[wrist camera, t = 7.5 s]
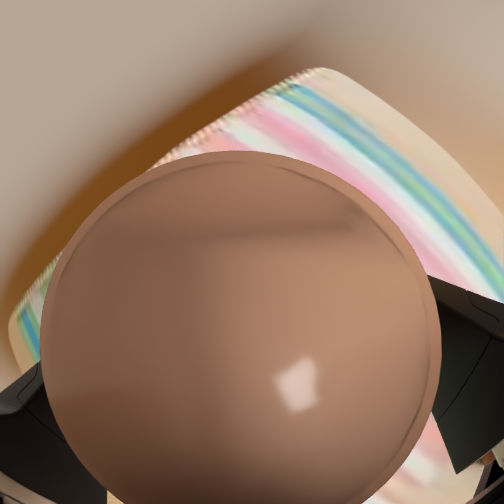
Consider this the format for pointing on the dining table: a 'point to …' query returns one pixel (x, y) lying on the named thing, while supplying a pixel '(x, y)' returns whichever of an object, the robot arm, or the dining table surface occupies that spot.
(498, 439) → the robot arm
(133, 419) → the tan cylindrical canister
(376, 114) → the dining table surface
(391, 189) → the dining table surface
